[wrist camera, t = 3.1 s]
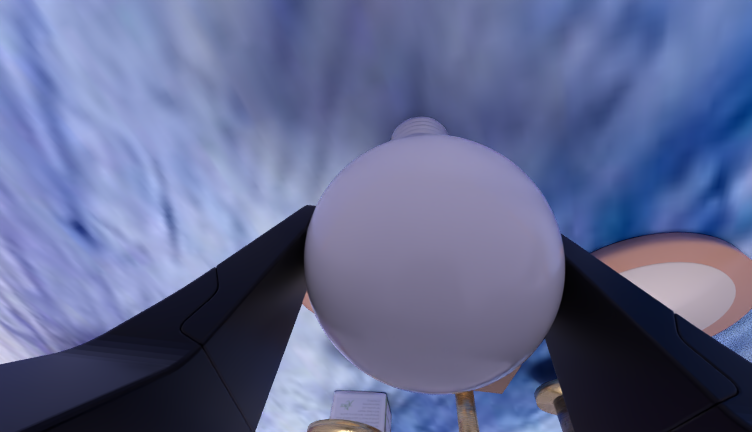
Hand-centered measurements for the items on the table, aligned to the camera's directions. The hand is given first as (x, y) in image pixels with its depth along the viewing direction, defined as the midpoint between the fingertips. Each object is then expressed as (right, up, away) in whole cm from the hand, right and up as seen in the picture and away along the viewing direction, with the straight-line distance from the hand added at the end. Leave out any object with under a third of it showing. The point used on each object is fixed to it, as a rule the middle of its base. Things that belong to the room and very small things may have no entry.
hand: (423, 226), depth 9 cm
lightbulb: (+1, +4, +5) cm, 7 cm away
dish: (+15, -5, +10) cm, 19 cm away
